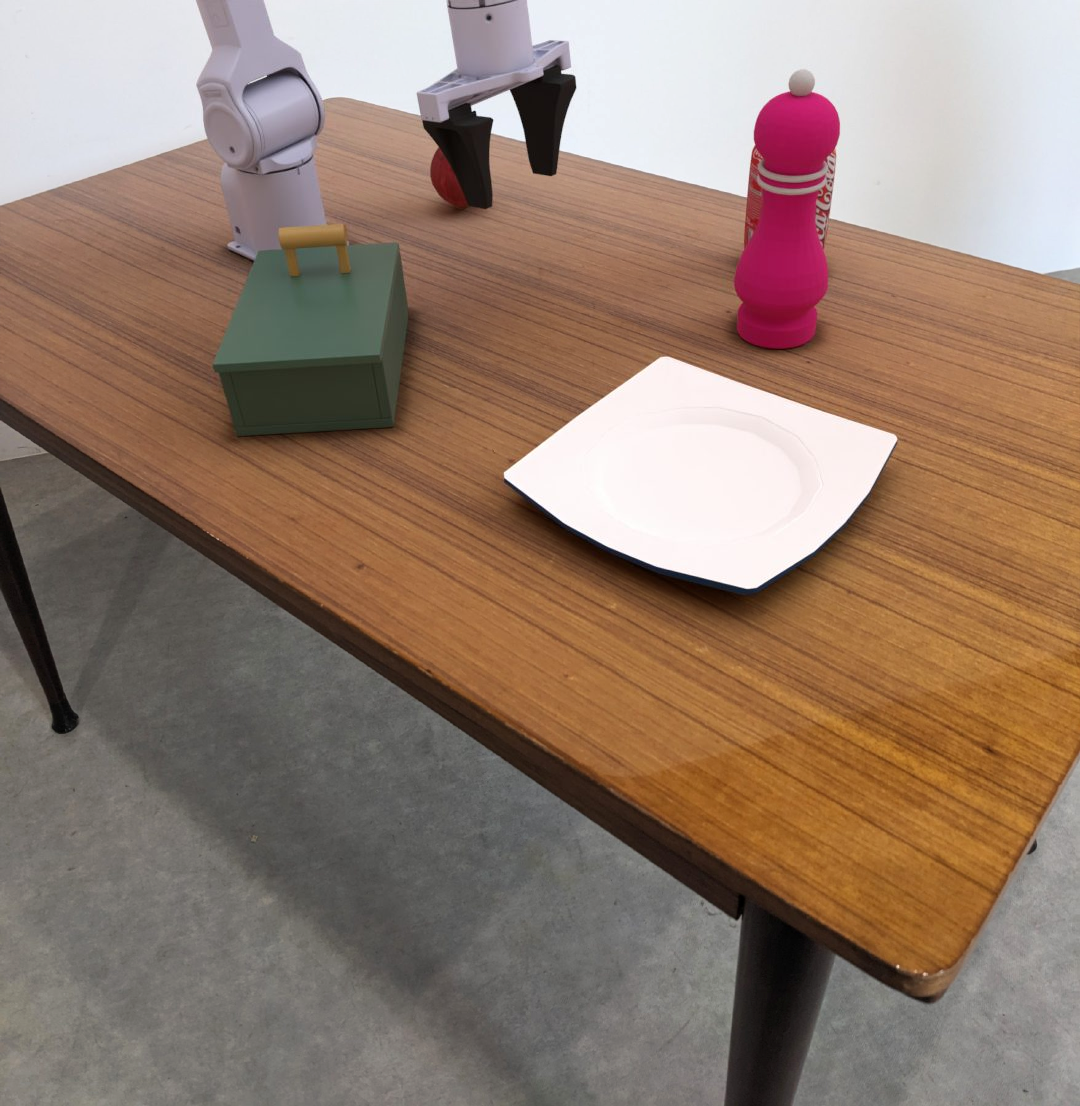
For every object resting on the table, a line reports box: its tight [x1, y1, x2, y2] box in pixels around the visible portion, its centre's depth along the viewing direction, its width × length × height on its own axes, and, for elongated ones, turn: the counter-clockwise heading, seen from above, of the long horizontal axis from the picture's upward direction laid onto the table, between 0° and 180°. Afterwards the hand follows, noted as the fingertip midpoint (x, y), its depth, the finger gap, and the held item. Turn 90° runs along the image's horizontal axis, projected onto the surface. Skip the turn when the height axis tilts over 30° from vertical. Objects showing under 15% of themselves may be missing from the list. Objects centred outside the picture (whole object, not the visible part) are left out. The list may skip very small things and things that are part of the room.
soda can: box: [743, 145, 837, 251], centre depth 90 cm, size 7×7×12 cm
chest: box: [218, 250, 410, 437], centre depth 82 cm, size 18×12×6 cm, turn 2°
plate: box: [503, 356, 899, 596], centre depth 69 cm, size 20×20×3 cm
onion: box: [429, 147, 469, 210], centre depth 105 cm, size 6×6×8 cm
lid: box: [212, 223, 401, 374], centre depth 78 cm, size 18×12×4 cm, turn 2°
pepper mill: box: [733, 68, 841, 350], centre depth 79 cm, size 7×7×20 cm
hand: (513, 189), depth 83 cm, fingers open, 7 cm apart
